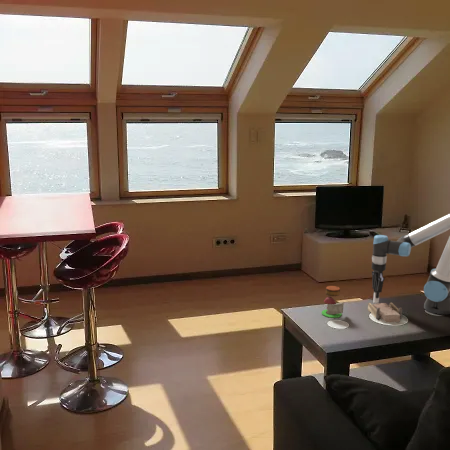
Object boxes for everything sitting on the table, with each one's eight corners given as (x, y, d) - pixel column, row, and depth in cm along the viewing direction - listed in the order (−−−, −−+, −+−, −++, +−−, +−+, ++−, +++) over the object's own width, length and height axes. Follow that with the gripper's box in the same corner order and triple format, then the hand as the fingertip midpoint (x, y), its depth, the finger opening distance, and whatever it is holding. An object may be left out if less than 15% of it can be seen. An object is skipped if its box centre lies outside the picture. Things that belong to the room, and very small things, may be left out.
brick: (400, 322, 259) (401, 313, 258) (385, 323, 258) (386, 314, 257) (385, 310, 275) (386, 302, 274) (371, 311, 274) (371, 303, 273)
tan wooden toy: (391, 309, 276) (392, 299, 274) (401, 318, 263) (402, 308, 261) (367, 309, 275) (368, 299, 273) (376, 319, 262) (377, 308, 260)
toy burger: (314, 313, 269) (316, 287, 266) (330, 308, 276) (331, 283, 273) (331, 320, 260) (333, 293, 257) (347, 315, 267) (349, 288, 264)
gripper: (368, 259, 281) (365, 298, 287) (376, 266, 269) (373, 307, 274) (381, 259, 282) (378, 298, 287) (390, 266, 269) (386, 306, 274)
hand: (375, 302), depth 280 cm, fingers closed
